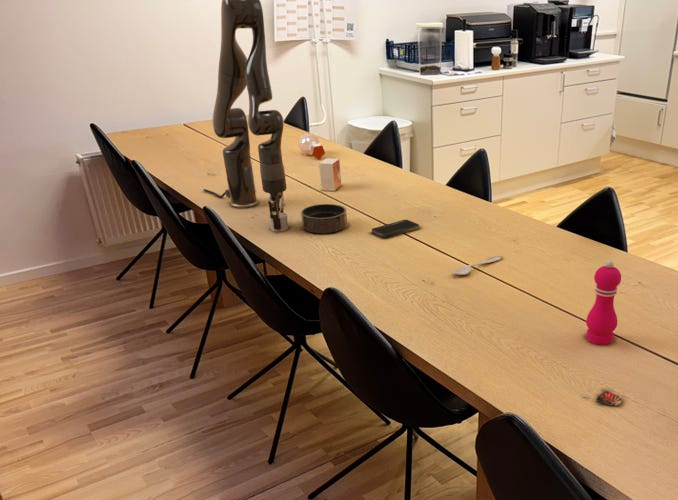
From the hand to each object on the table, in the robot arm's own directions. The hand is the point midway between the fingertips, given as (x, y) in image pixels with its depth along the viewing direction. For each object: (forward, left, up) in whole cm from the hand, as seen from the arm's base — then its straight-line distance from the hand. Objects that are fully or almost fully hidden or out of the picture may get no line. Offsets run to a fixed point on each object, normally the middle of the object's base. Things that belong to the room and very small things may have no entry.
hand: (279, 225), depth 226 cm
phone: (+28, +27, -1) cm, 39 cm away
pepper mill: (+118, +16, -1) cm, 119 cm away
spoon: (+68, +25, -1) cm, 72 cm away
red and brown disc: (+135, -4, -1) cm, 135 cm away
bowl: (+9, +12, -1) cm, 15 cm away
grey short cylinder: (0, 0, -1) cm, 1 cm away
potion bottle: (-72, +61, -1) cm, 94 cm away
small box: (-26, +39, -1) cm, 47 cm away
